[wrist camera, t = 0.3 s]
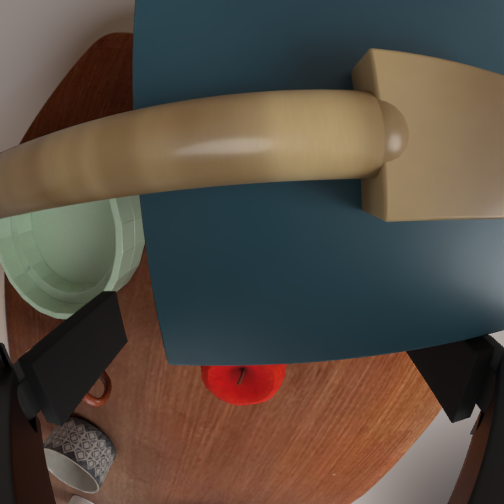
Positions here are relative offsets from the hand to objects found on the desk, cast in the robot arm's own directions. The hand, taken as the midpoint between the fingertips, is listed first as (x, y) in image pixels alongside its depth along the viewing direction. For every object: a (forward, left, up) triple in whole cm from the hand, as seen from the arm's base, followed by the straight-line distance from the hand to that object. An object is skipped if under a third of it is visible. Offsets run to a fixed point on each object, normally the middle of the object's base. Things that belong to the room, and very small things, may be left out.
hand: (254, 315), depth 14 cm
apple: (+12, -3, -22) cm, 25 cm away
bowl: (-3, -24, -22) cm, 32 cm away
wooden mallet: (-7, -2, +7) cm, 10 cm away
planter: (+37, -36, -22) cm, 56 cm away
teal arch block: (-7, +4, -22) cm, 23 cm away
